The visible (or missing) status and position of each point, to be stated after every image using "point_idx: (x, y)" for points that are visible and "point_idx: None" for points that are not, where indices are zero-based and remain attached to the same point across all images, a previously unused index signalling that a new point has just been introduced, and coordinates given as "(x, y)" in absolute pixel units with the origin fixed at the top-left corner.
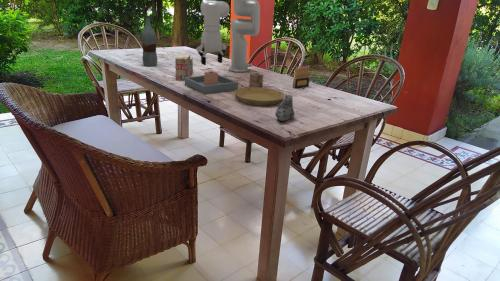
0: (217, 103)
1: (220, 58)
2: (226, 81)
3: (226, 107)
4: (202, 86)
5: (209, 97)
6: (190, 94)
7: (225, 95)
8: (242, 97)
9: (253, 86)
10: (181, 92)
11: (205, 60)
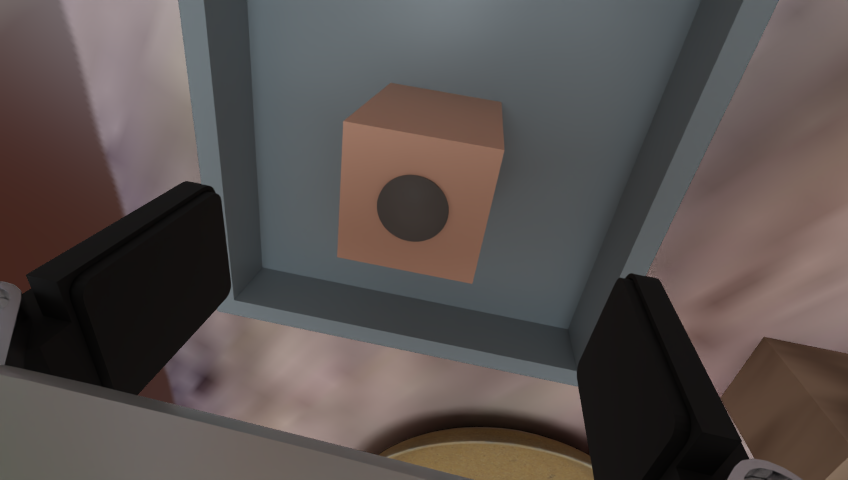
0: None
1: (592, 447)
2: (628, 217)
3: None
4: None
5: (251, 333)
6: None
7: (377, 366)
8: (420, 462)
9: (738, 395)
10: (98, 113)
11: (165, 352)
